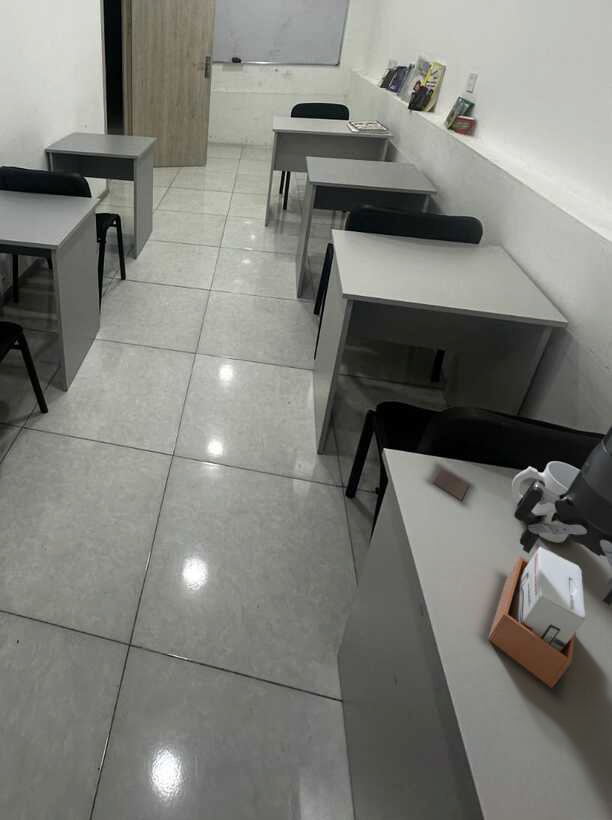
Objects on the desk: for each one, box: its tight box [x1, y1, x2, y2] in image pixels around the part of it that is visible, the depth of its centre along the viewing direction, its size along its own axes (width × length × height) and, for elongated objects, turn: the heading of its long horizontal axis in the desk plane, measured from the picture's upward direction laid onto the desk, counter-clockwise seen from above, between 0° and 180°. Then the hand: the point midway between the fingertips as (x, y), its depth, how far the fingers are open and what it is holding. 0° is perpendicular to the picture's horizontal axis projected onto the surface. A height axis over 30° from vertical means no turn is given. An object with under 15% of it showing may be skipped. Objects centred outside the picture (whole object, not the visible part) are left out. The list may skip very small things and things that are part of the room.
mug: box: [511, 460, 580, 543], centre depth 83 cm, size 10×7×12 cm, turn 60°
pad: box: [432, 467, 470, 502], centre depth 91 cm, size 5×5×1 cm
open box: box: [487, 555, 577, 689], centre depth 68 cm, size 7×11×6 cm, turn 135°
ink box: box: [508, 546, 586, 652], centre depth 66 cm, size 9×5×12 cm, turn 145°
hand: (564, 571), depth 63 cm, fingers open, 8 cm apart
